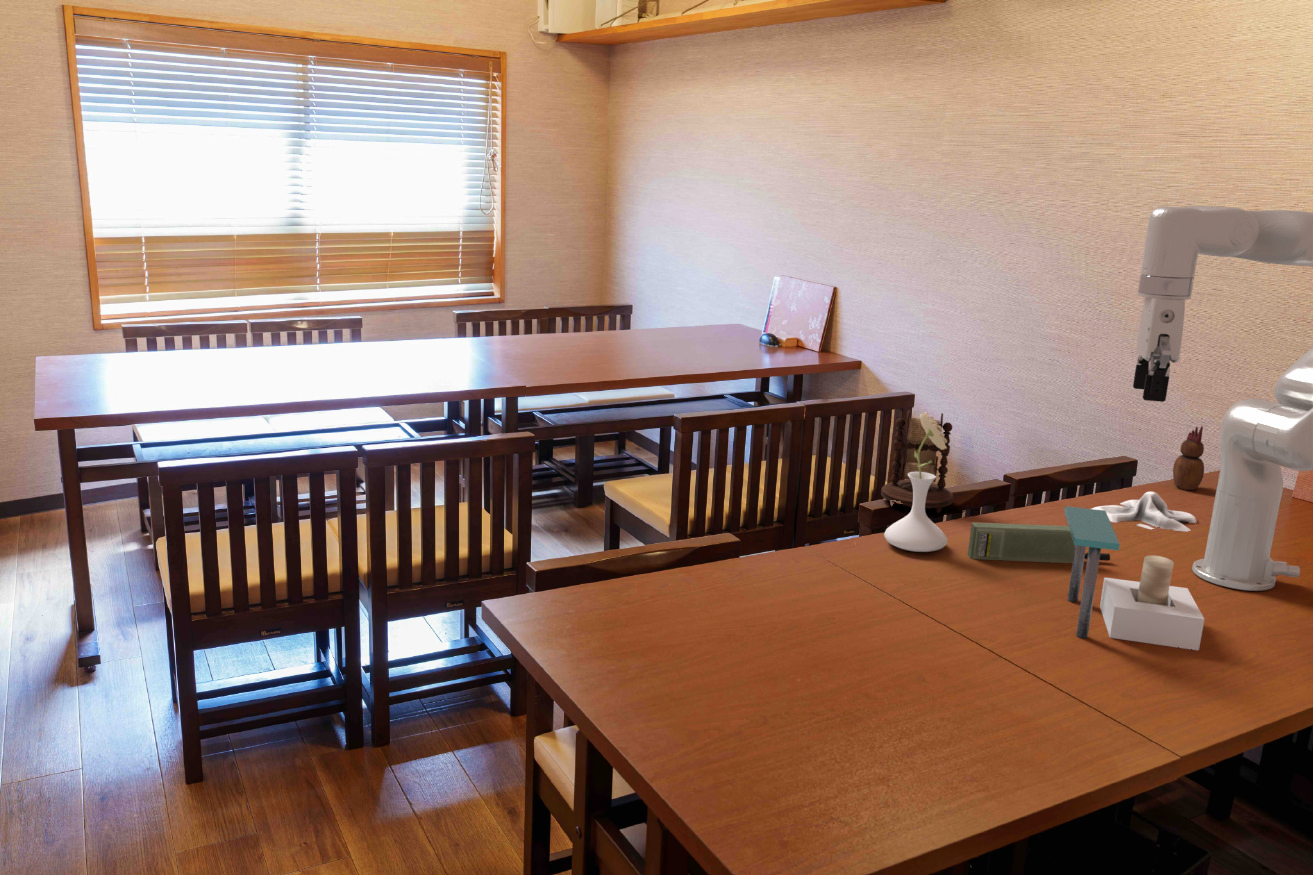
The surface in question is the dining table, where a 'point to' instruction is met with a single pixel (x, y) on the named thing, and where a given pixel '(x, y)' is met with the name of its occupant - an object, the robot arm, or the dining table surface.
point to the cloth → (1149, 513)
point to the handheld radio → (1023, 543)
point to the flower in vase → (920, 504)
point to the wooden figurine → (1190, 462)
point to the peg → (1155, 580)
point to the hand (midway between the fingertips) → (1148, 394)
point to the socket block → (1151, 616)
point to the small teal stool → (1095, 534)
